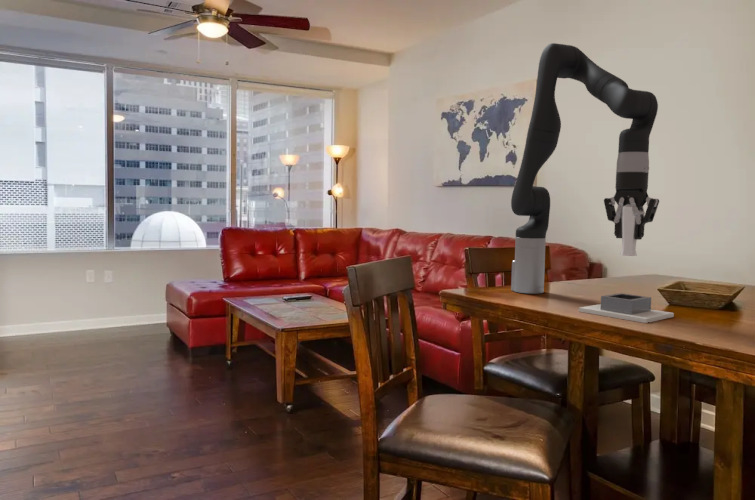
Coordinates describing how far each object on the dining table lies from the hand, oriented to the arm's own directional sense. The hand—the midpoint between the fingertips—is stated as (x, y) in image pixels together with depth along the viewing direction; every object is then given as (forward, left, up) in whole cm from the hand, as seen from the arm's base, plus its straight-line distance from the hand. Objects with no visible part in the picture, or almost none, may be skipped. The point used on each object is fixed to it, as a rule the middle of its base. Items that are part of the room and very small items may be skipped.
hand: (628, 238), depth 151 cm
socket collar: (0, 0, -20) cm, 20 cm away
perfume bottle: (0, 0, -5) cm, 5 cm away
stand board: (0, 0, -20) cm, 20 cm away
